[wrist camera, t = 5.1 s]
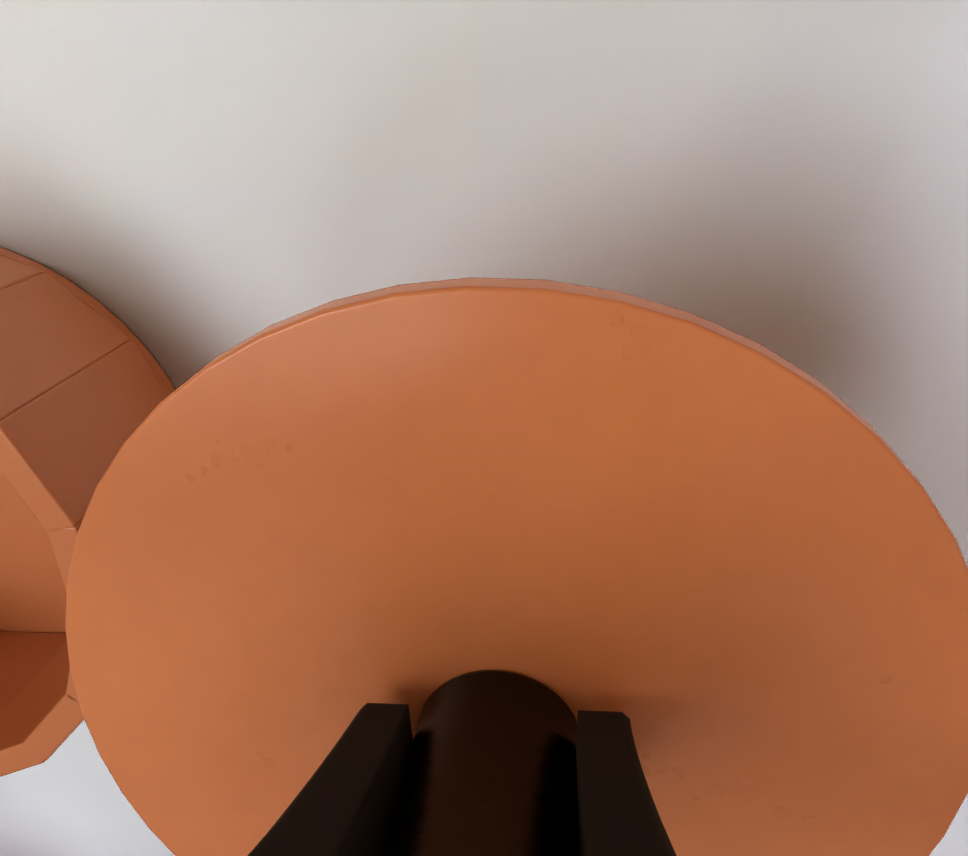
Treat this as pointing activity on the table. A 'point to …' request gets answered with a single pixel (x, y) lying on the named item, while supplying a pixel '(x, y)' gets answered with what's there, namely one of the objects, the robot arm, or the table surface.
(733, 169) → the table surface
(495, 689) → the lid
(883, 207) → the table surface
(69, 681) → the pan
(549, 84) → the table surface
